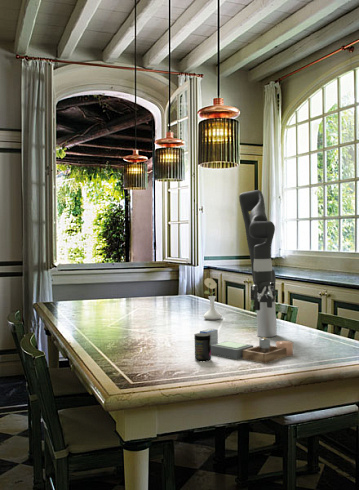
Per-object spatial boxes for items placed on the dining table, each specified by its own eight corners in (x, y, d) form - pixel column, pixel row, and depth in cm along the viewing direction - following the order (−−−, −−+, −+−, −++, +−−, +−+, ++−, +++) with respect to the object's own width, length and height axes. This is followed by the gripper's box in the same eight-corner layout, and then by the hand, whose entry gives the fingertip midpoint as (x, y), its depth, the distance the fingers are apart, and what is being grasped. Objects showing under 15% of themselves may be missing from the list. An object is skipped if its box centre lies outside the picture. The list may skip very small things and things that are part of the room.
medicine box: (210, 347, 231) (209, 328, 230) (218, 348, 228) (217, 329, 228) (199, 350, 225) (199, 330, 224) (207, 351, 222) (207, 331, 222)
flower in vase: (225, 319, 305) (225, 278, 305) (210, 321, 299) (210, 279, 298) (212, 316, 316) (211, 276, 316) (197, 318, 310) (196, 278, 309)
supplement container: (210, 362, 203) (209, 336, 203) (193, 361, 204) (193, 336, 204) (212, 358, 210) (211, 333, 210) (196, 357, 211) (195, 332, 211)
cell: (263, 353, 212) (263, 336, 211) (272, 354, 209) (272, 337, 208) (257, 355, 208) (257, 338, 208) (266, 356, 205) (265, 339, 205)
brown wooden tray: (242, 358, 207) (242, 350, 207) (263, 352, 218) (263, 344, 218) (265, 363, 199) (265, 354, 199) (286, 356, 210) (286, 348, 210)
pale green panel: (227, 344, 222) (227, 341, 222) (248, 347, 214) (247, 344, 214) (215, 347, 217) (215, 344, 217) (236, 350, 209) (236, 348, 209)
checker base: (227, 349, 225) (227, 341, 224) (253, 354, 214) (253, 345, 214) (210, 354, 217) (210, 345, 217) (236, 359, 207) (236, 350, 207)
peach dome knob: (282, 351, 218) (281, 340, 218) (296, 354, 213) (296, 342, 213) (272, 354, 213) (272, 342, 213) (287, 357, 208) (286, 345, 208)
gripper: (265, 268, 216) (266, 306, 217) (244, 270, 206) (245, 310, 207) (280, 268, 211) (281, 307, 211) (260, 271, 201) (260, 312, 201)
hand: (263, 308), depth 209 cm, fingers open, 8 cm apart
